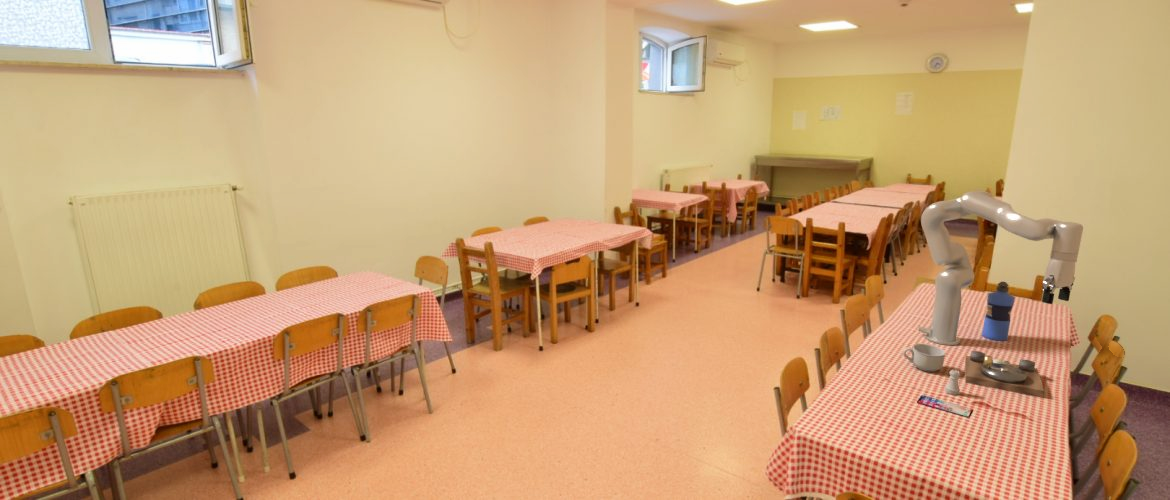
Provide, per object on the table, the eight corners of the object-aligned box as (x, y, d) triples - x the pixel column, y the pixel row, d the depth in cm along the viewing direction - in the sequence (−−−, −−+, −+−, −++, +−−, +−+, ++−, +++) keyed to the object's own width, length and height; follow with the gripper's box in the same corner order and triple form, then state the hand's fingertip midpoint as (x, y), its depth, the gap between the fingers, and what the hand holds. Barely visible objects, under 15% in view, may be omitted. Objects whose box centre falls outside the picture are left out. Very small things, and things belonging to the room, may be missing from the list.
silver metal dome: (981, 377, 202) (984, 362, 201) (980, 365, 213) (983, 350, 211) (1027, 386, 195) (1030, 370, 194) (1024, 373, 206) (1026, 357, 205)
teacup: (940, 365, 219) (943, 346, 217) (944, 376, 209) (947, 356, 208) (899, 359, 225) (902, 340, 223) (901, 370, 215) (904, 350, 213)
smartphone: (969, 417, 179) (915, 402, 189) (968, 419, 180) (915, 404, 189) (973, 408, 185) (921, 394, 195) (973, 410, 185) (921, 396, 195)
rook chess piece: (954, 396, 194) (958, 374, 192) (941, 391, 198) (944, 369, 196) (962, 393, 196) (965, 372, 194) (949, 388, 200) (952, 367, 198)
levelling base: (965, 382, 205) (967, 368, 203) (965, 361, 223) (967, 348, 221) (1043, 397, 193) (1045, 382, 192) (1035, 374, 211) (1038, 360, 210)
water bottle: (984, 339, 246) (993, 283, 240) (979, 332, 254) (987, 278, 249) (1010, 342, 242) (1020, 286, 237) (1004, 335, 251) (1013, 280, 245)
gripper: (1066, 252, 213) (1057, 296, 217) (1037, 256, 206) (1029, 301, 210) (1090, 256, 206) (1080, 301, 210) (1061, 260, 200) (1052, 307, 203)
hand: (1055, 301), depth 210 cm, fingers open, 9 cm apart
